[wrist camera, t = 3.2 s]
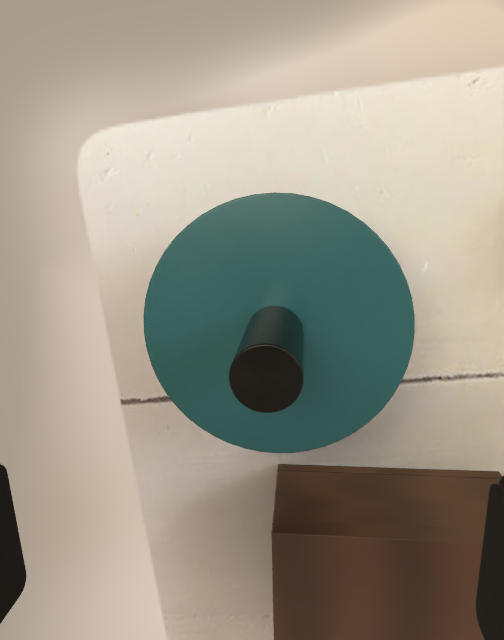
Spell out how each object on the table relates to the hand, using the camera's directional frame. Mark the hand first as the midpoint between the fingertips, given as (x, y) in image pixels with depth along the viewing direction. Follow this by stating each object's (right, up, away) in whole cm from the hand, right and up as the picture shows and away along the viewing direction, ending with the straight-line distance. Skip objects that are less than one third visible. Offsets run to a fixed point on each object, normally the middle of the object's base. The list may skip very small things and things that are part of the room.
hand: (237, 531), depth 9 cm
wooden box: (+10, -13, +26) cm, 31 cm away
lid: (+1, +4, +13) cm, 14 cm away
